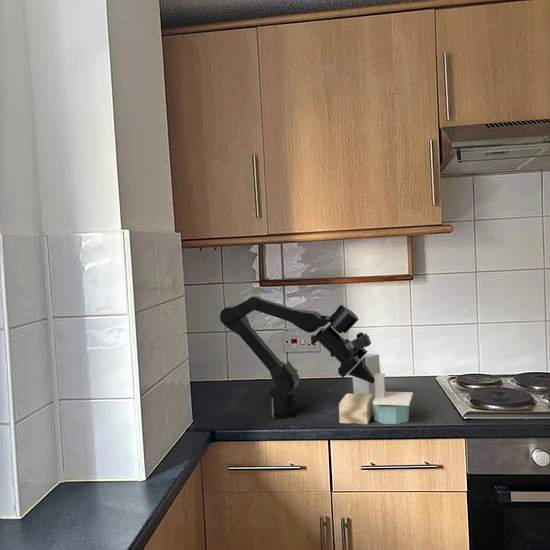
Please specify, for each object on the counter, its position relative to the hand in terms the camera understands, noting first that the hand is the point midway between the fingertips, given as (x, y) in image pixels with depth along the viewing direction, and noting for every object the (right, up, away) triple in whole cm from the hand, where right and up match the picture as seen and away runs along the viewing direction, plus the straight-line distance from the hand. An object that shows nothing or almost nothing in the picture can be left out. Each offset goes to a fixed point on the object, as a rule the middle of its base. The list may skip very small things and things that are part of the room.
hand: (374, 382), depth 172 cm
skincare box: (+2, -10, +23) cm, 25 cm away
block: (-5, -11, +2) cm, 12 cm away
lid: (+5, -5, -2) cm, 7 cm away
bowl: (+5, -11, -1) cm, 12 cm away
